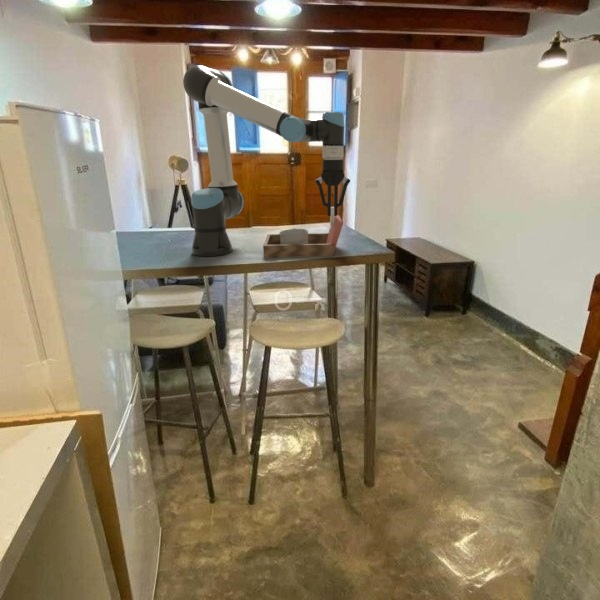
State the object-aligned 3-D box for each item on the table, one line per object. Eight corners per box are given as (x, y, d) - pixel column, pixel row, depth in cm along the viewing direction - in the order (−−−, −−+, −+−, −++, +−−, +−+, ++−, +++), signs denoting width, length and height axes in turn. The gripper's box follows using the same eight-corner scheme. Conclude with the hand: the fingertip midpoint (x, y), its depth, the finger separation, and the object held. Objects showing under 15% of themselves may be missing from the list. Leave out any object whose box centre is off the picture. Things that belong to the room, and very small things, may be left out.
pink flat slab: (328, 253, 153) (337, 221, 149) (325, 242, 170) (334, 213, 166) (333, 254, 154) (343, 223, 150) (330, 244, 170) (339, 215, 166)
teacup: (305, 255, 155) (305, 234, 152) (276, 254, 157) (276, 233, 154) (311, 246, 167) (311, 226, 165) (285, 246, 169) (284, 226, 167)
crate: (263, 257, 153) (263, 245, 151) (268, 245, 172) (267, 234, 170) (333, 256, 152) (333, 244, 151) (329, 243, 171) (330, 233, 170)
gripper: (315, 159, 147) (315, 226, 155) (351, 159, 147) (350, 226, 155) (314, 158, 154) (314, 223, 162) (349, 158, 154) (348, 222, 162)
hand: (332, 224), depth 158 cm, fingers closed
